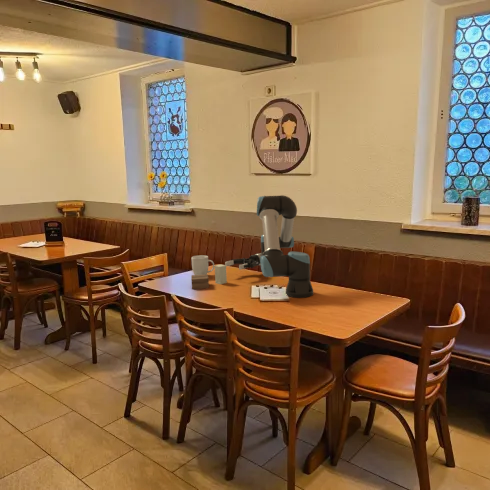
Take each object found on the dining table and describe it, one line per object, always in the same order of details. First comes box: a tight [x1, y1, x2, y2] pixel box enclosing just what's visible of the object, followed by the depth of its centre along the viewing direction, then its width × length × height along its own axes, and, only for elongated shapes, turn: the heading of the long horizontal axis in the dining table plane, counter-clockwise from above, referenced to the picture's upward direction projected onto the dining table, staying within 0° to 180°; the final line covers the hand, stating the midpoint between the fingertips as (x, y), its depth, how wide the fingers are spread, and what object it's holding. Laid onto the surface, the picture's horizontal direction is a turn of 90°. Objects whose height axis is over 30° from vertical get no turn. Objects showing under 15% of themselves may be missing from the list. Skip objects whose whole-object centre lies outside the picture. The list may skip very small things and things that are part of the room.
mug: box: [191, 254, 215, 275], centre depth 287 cm, size 15×11×13 cm
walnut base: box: [191, 273, 210, 290], centre depth 262 cm, size 10×10×6 cm
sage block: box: [214, 264, 228, 285], centre depth 268 cm, size 5×5×11 cm
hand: (232, 265), depth 274 cm, fingers open, 13 cm apart
